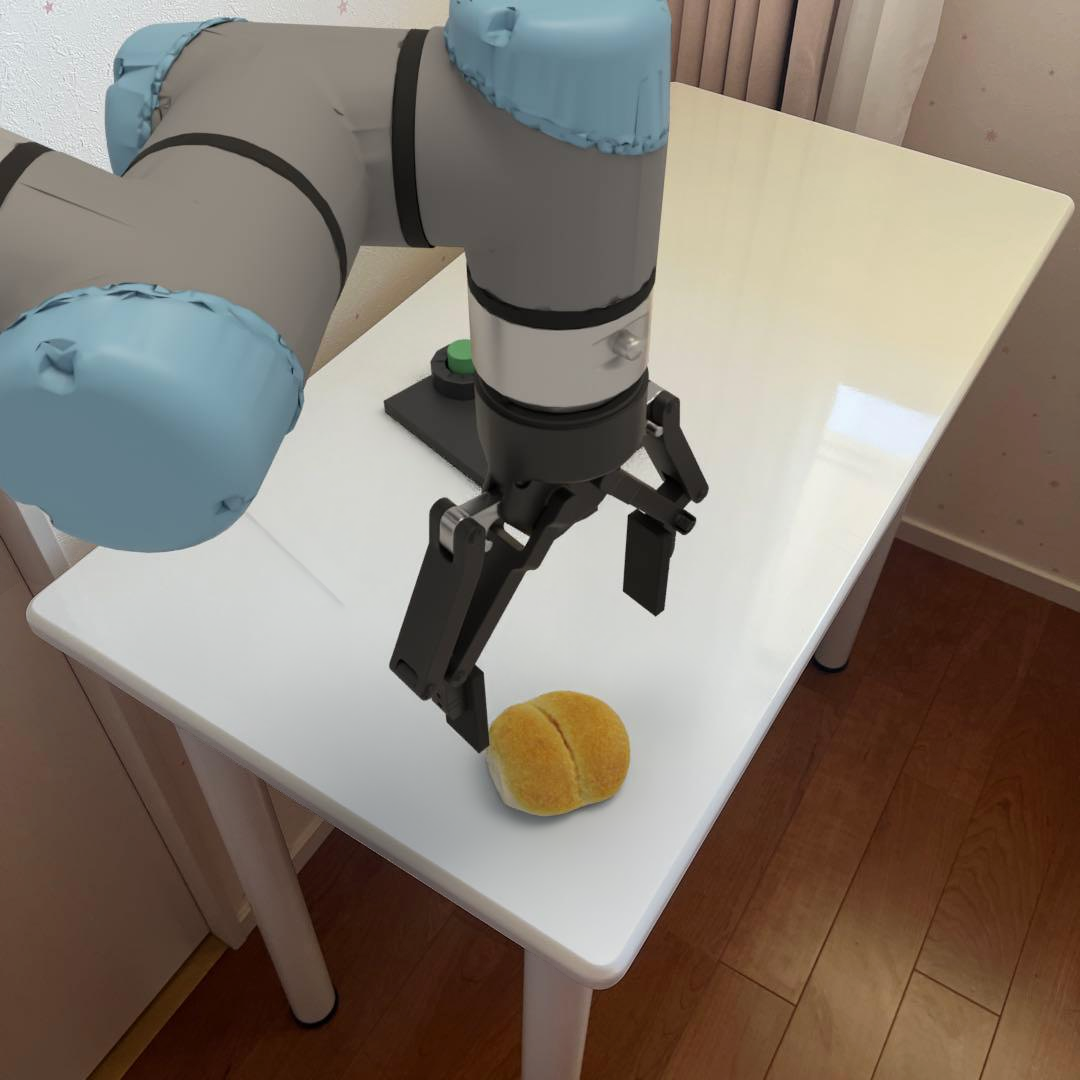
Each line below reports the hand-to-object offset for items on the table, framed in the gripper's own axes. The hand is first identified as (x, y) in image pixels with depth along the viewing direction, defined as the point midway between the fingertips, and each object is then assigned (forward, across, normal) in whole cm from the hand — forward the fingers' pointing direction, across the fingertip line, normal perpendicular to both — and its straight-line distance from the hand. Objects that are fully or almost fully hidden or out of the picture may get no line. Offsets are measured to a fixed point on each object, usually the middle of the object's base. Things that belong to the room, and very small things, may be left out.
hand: (560, 664), depth 62 cm
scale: (+10, +20, +26) cm, 34 cm away
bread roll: (+11, 0, 0) cm, 11 cm away
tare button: (+8, +20, +33) cm, 39 cm away
